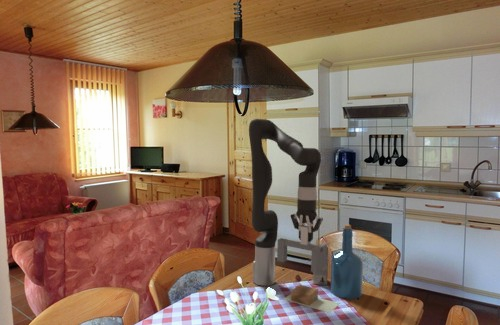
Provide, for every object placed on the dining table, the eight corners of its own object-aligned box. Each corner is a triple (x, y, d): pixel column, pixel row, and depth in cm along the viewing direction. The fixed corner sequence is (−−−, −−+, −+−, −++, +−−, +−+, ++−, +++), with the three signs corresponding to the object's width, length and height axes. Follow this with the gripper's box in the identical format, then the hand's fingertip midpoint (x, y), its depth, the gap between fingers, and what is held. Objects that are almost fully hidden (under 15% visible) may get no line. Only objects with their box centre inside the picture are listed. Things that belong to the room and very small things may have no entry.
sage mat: (283, 301, 144) (283, 299, 144) (294, 293, 152) (294, 291, 152) (330, 315, 133) (330, 312, 133) (339, 305, 141) (339, 303, 141)
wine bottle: (344, 286, 161) (346, 220, 160) (368, 297, 150) (371, 226, 149) (322, 292, 154) (324, 223, 153) (346, 304, 143) (348, 229, 142)
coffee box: (313, 279, 170) (314, 245, 170) (327, 280, 169) (328, 246, 168) (312, 286, 161) (313, 251, 161) (327, 287, 160) (328, 252, 159)
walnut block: (291, 300, 143) (291, 290, 143) (300, 294, 150) (300, 284, 150) (309, 305, 139) (309, 295, 138) (317, 298, 145) (318, 289, 145)
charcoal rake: (272, 263, 146) (273, 224, 146) (284, 257, 155) (285, 220, 154) (315, 273, 136) (317, 231, 135) (326, 266, 144) (327, 226, 143)
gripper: (286, 197, 144) (285, 239, 144) (319, 200, 136) (318, 245, 136) (295, 195, 150) (294, 236, 151) (327, 198, 142) (325, 241, 143)
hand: (305, 240), depth 143 cm, fingers closed on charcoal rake, 3 cm apart
